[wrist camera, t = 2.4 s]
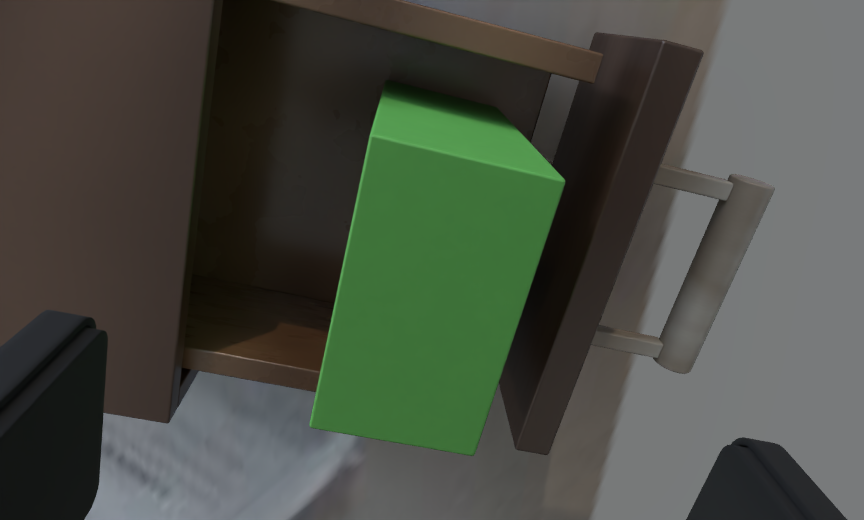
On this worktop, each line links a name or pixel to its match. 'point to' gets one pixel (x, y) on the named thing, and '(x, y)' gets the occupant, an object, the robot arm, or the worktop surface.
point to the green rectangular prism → (433, 271)
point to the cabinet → (106, 178)
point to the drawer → (343, 163)
